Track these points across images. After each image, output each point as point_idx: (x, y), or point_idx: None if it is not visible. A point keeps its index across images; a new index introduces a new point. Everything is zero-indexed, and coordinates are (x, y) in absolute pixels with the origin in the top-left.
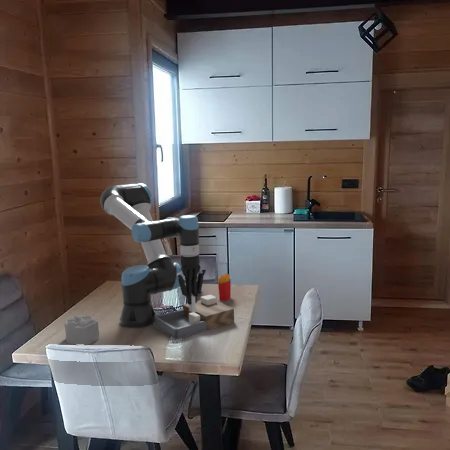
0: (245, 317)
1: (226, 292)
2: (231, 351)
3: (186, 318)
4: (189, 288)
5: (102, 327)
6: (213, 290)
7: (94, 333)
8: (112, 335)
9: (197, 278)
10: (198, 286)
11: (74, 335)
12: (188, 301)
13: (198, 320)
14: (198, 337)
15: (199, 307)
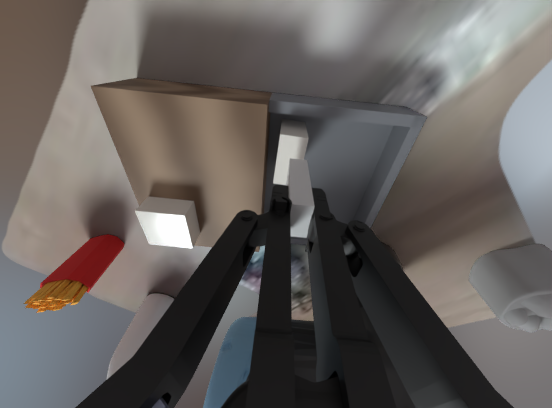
0: (75, 87)
1: (87, 252)
2: None
3: (268, 207)
4: (341, 261)
5: (422, 284)
6: (120, 285)
7: (523, 265)
8: (457, 247)
9: (212, 334)
10: (241, 255)
11: None
12: (325, 203)
13: (289, 128)
14: (340, 52)
15: (228, 203)
